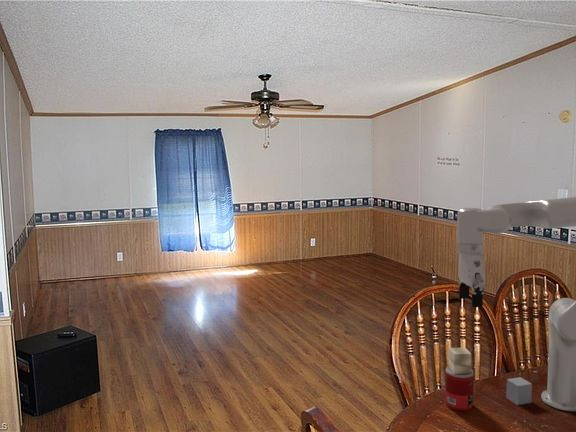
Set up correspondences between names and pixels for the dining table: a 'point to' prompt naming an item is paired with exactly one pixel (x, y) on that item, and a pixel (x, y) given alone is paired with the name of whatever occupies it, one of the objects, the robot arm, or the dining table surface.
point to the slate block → (519, 391)
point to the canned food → (459, 390)
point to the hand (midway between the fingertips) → (470, 302)
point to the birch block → (459, 360)
